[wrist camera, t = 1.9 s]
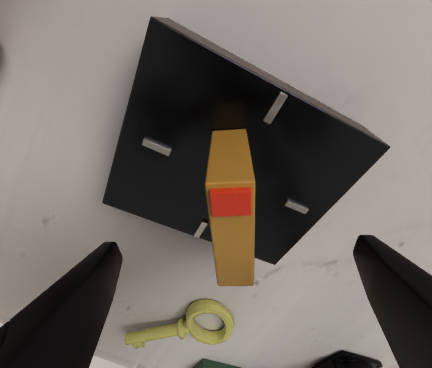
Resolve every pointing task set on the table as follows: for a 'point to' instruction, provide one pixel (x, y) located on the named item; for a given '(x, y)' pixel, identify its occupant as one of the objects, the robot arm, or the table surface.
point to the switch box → (231, 207)
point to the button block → (212, 364)
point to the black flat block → (230, 120)
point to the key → (187, 326)
